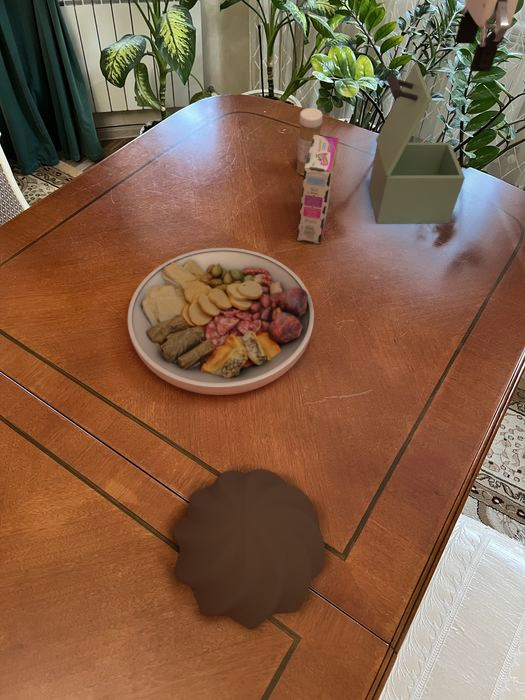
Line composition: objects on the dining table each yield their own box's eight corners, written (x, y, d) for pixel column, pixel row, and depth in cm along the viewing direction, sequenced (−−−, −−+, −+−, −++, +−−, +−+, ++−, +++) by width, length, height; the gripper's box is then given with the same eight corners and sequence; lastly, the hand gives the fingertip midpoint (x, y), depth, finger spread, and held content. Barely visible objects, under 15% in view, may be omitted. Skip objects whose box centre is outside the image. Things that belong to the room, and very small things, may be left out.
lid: (418, 65, 101) (390, 56, 100) (432, 99, 94) (402, 90, 92) (379, 140, 112) (354, 134, 111) (389, 176, 105) (362, 169, 104)
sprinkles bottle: (317, 166, 126) (324, 108, 115) (315, 178, 123) (321, 120, 112) (297, 163, 126) (301, 105, 116) (294, 175, 123) (298, 117, 113)
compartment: (436, 188, 122) (450, 142, 113) (448, 223, 115) (465, 177, 106) (368, 188, 121) (377, 142, 113) (376, 224, 114) (387, 177, 106)
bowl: (134, 416, 86) (125, 386, 79) (130, 276, 104) (123, 243, 98) (329, 392, 89) (335, 362, 83) (293, 260, 107) (295, 227, 101)
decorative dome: (165, 629, 68) (155, 607, 60) (180, 474, 80) (172, 439, 72) (328, 629, 68) (338, 607, 60) (318, 475, 80) (325, 440, 72)
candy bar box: (321, 245, 110) (331, 172, 97) (296, 241, 110) (302, 168, 97) (329, 209, 117) (339, 136, 104) (305, 205, 117) (312, 132, 104)
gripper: (556, -45, 76) (509, 82, 89) (516, -87, 86) (480, 32, 100) (500, -46, 75) (462, 82, 89) (467, -88, 86) (437, 32, 99)
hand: (471, 56), depth 94 cm, fingers open, 9 cm apart
